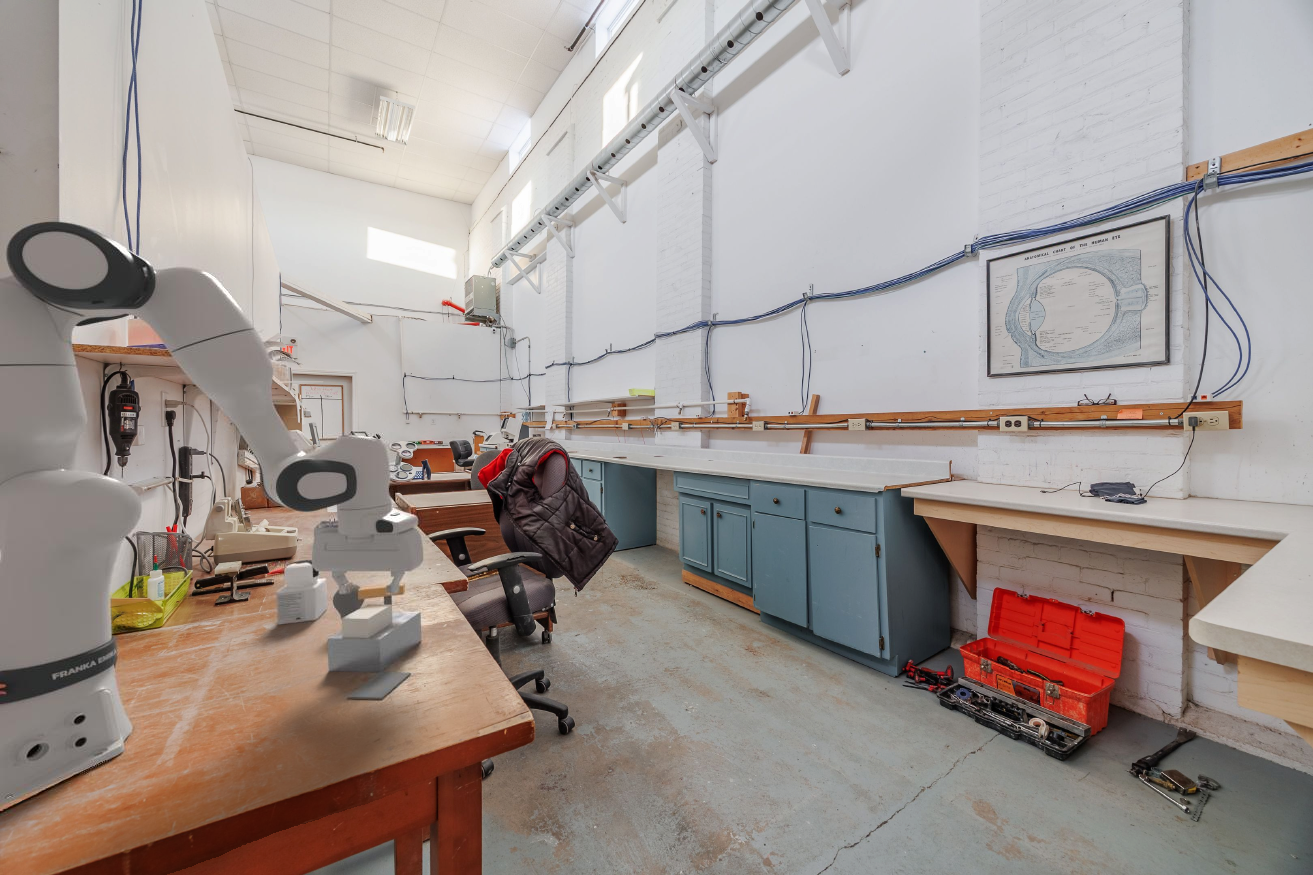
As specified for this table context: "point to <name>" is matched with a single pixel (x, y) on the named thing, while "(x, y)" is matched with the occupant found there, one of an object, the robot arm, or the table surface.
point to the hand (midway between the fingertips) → (369, 593)
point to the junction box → (375, 645)
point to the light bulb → (347, 601)
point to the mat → (379, 685)
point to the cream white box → (366, 621)
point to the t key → (379, 593)
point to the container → (301, 594)
